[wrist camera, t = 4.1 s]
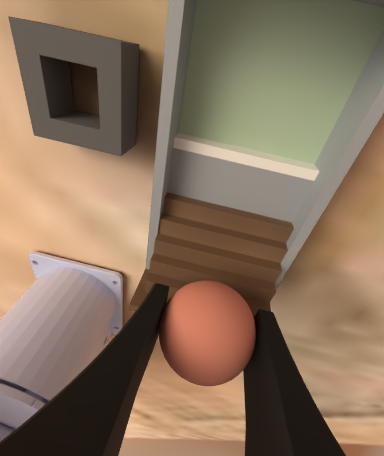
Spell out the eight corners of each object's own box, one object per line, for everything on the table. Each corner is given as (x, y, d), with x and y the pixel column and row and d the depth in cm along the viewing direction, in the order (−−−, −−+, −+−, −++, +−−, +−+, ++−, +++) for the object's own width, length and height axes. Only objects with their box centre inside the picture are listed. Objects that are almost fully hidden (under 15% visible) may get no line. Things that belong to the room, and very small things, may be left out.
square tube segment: (135, 144, 13) (121, 156, 11) (59, 125, 13) (34, 135, 12) (139, 44, 10) (120, 42, 9) (43, 22, 11) (8, 16, 9)
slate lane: (265, 271, 17) (273, 329, 13) (156, 244, 17) (134, 293, 13) (417, -13, 8) (557, -70, 5) (192, -61, 8) (156, -151, 5)
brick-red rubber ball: (265, 273, 10) (280, 370, 7) (237, 322, 13) (239, 412, 10) (177, 252, 10) (152, 339, 7) (164, 305, 13) (142, 389, 10)
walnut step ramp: (263, 275, 17) (270, 345, 13) (156, 249, 17) (129, 309, 13) (296, 213, 14) (321, 279, 10) (164, 181, 14) (132, 233, 10)
